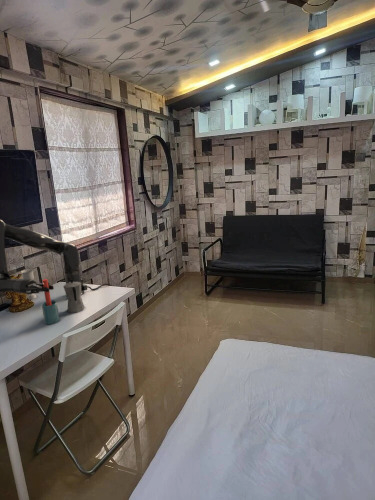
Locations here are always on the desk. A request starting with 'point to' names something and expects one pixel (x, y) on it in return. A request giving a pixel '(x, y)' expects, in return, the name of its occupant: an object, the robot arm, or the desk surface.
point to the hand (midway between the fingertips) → (50, 288)
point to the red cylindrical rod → (47, 293)
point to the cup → (50, 313)
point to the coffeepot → (74, 296)
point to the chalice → (29, 275)
